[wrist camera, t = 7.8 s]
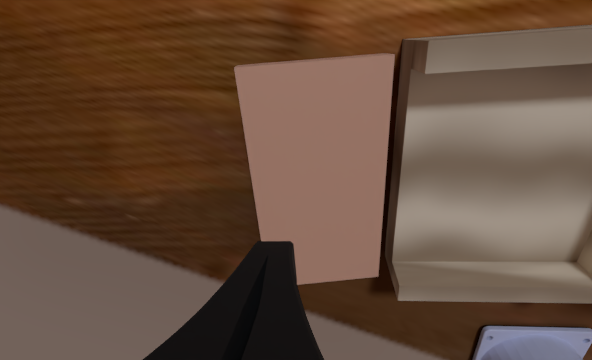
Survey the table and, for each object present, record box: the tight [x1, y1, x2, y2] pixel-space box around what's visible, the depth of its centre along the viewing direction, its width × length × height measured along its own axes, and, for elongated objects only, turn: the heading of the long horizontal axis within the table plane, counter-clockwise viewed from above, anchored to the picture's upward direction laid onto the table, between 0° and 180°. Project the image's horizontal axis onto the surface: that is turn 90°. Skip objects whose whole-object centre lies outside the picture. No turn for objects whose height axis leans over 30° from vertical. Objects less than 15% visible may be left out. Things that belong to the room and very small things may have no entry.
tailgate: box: [234, 53, 395, 285], centre depth 16 cm, size 13×2×7 cm
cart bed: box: [385, 25, 592, 303], centre depth 15 cm, size 14×12×5 cm
